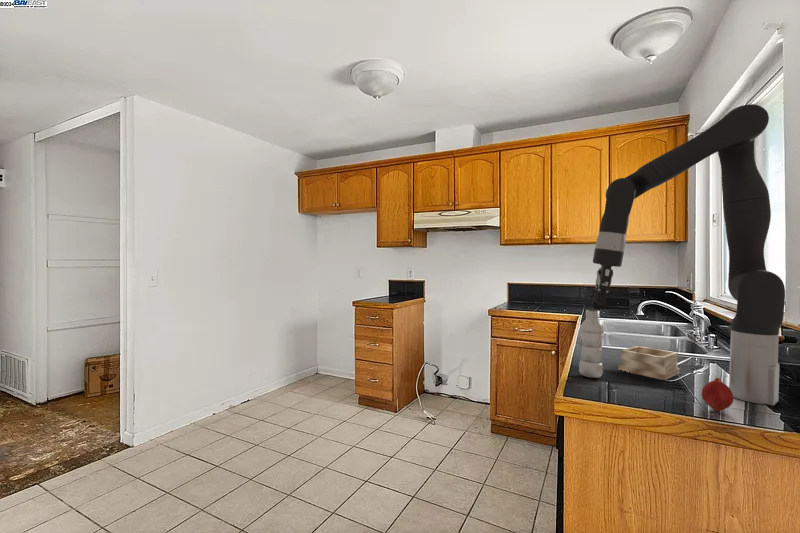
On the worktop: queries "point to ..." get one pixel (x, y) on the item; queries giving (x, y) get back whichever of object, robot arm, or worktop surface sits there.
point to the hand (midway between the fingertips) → (599, 303)
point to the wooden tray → (649, 362)
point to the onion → (717, 395)
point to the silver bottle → (591, 345)
